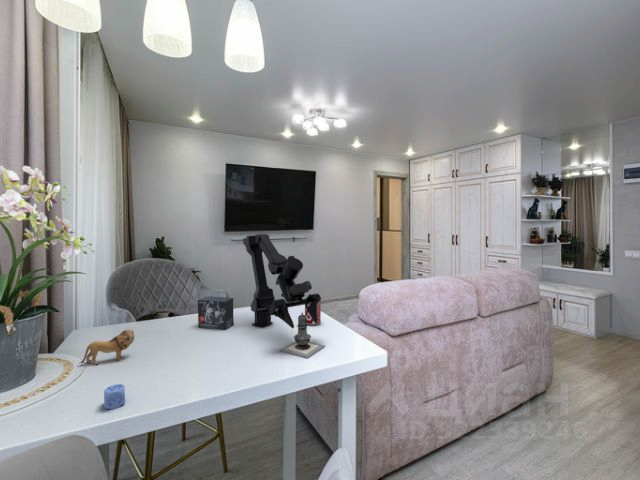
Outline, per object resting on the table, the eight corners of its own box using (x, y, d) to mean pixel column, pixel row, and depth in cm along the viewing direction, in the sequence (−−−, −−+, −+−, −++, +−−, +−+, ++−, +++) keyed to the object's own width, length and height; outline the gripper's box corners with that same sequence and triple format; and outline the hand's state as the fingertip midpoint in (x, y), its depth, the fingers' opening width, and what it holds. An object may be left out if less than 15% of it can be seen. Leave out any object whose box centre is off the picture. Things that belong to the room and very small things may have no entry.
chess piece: (303, 351, 101) (302, 315, 101) (290, 347, 105) (289, 312, 105) (314, 346, 106) (314, 311, 105) (302, 342, 110) (301, 309, 109)
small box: (197, 328, 128) (196, 299, 127) (207, 323, 135) (206, 295, 134) (225, 330, 125) (225, 301, 124) (234, 325, 132) (233, 297, 131)
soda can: (321, 321, 136) (321, 294, 136) (319, 326, 129) (319, 298, 129) (306, 320, 137) (306, 294, 136) (303, 325, 130) (303, 297, 130)
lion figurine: (134, 352, 103) (133, 326, 103) (135, 358, 99) (134, 330, 98) (79, 363, 95) (78, 335, 95) (77, 370, 91) (76, 340, 90)
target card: (280, 351, 104) (280, 349, 104) (299, 340, 113) (299, 338, 113) (307, 358, 98) (307, 356, 98) (325, 346, 107) (325, 344, 107)
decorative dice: (104, 403, 74) (104, 387, 74) (124, 397, 76) (124, 382, 76) (104, 411, 70) (103, 394, 70) (125, 405, 73) (124, 389, 73)
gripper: (272, 276, 102) (289, 317, 94) (318, 271, 113) (337, 307, 105) (262, 295, 109) (277, 335, 100) (306, 289, 120) (323, 324, 111)
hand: (305, 324), depth 104 cm, fingers open, 9 cm apart
